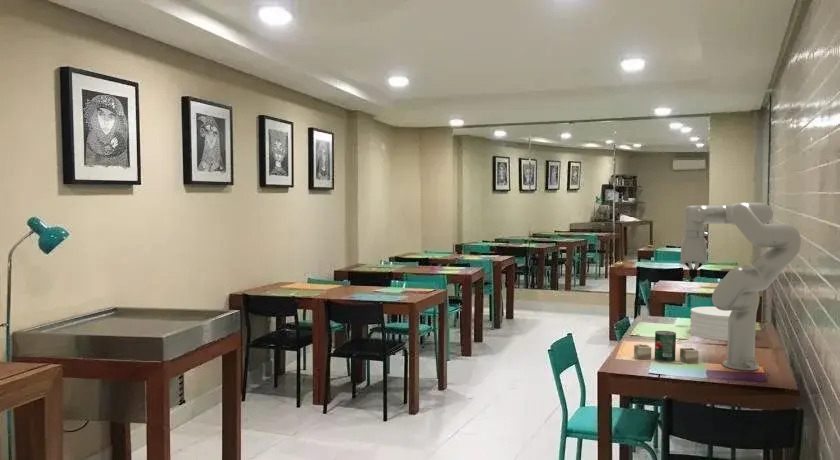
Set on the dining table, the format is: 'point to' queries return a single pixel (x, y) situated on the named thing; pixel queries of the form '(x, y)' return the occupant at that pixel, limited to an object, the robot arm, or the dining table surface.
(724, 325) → the plate stack
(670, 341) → the canned tomato
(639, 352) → the marked block two
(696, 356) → the marked block one
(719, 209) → the robot arm
